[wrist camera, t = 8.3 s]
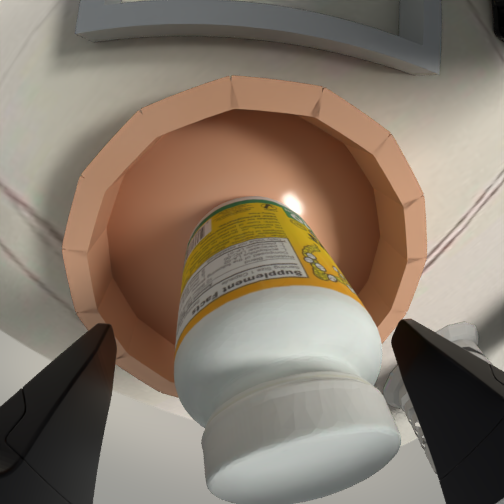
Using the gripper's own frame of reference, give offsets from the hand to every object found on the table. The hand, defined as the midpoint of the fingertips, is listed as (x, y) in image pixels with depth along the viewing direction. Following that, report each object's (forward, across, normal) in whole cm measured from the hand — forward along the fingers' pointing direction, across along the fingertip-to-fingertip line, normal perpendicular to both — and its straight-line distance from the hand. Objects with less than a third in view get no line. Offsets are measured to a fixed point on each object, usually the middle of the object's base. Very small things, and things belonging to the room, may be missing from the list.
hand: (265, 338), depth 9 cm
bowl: (+6, 0, 0) cm, 6 cm away
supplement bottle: (+5, 0, 0) cm, 5 cm away
